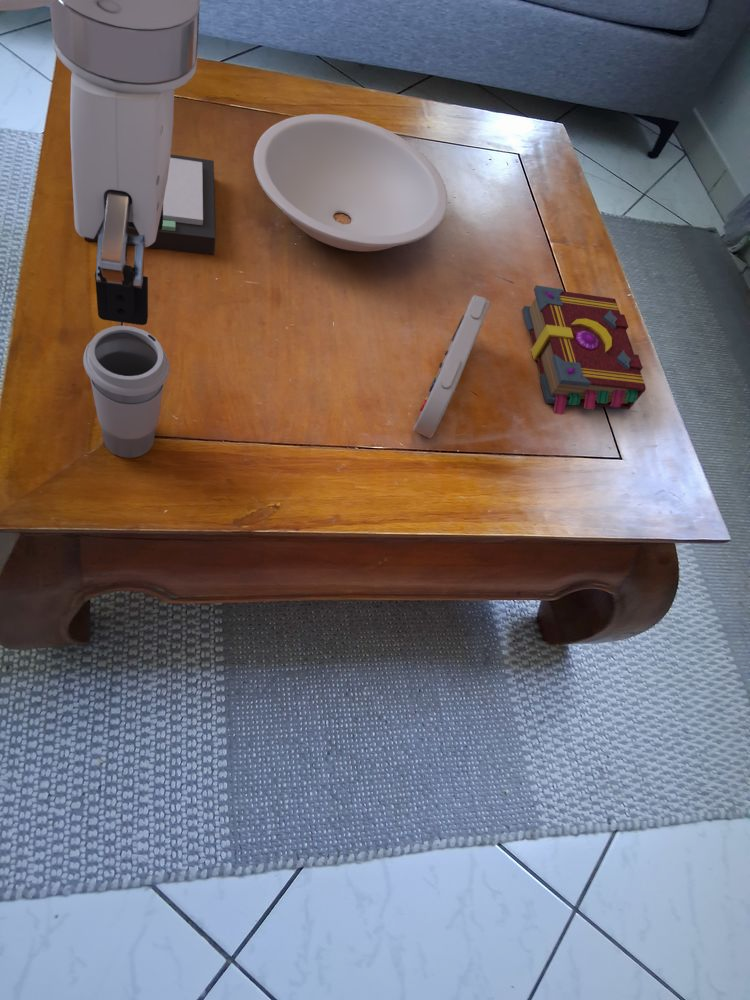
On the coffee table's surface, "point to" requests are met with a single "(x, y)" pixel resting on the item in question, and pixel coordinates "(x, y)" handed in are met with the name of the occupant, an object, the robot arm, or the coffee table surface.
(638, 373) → the decorative book
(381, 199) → the white sink basin
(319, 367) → the coffee table surface
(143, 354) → the cup
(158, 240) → the scale
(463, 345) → the game controller
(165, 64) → the robot arm
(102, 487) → the coffee table surface
